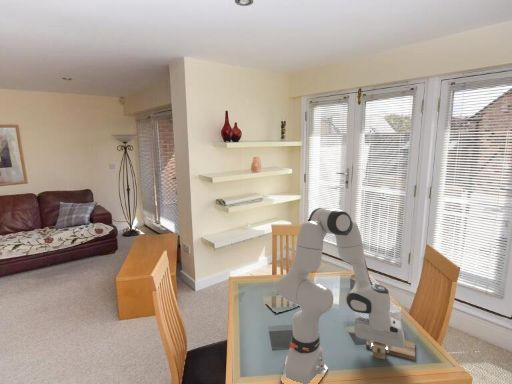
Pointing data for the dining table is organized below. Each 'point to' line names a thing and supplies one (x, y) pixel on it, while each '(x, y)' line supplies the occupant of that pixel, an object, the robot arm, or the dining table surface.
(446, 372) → the dining table surface
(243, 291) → the dining table surface
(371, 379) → the dining table surface
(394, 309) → the white cup
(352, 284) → the coffee mug
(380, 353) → the gauge
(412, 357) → the board
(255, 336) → the dining table surface
